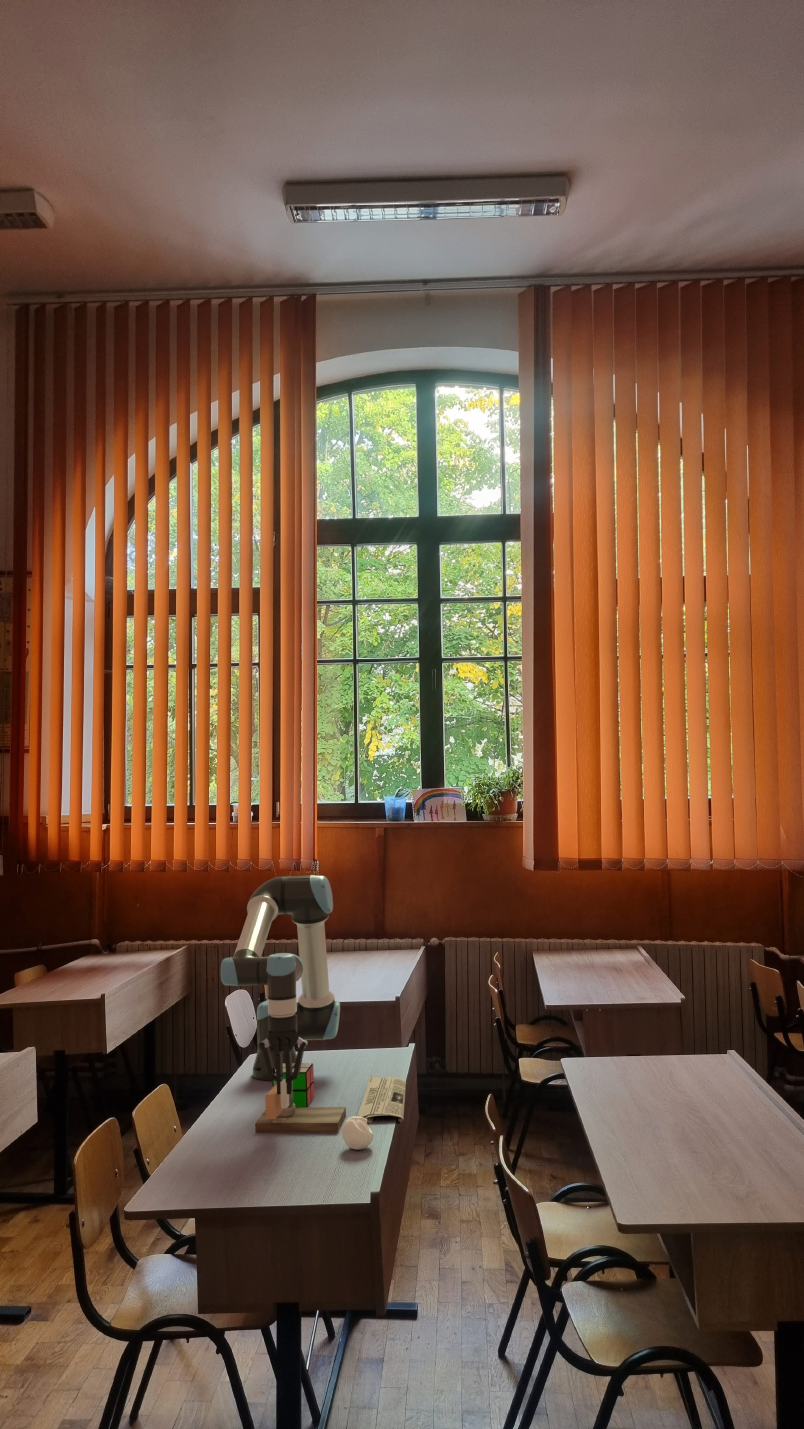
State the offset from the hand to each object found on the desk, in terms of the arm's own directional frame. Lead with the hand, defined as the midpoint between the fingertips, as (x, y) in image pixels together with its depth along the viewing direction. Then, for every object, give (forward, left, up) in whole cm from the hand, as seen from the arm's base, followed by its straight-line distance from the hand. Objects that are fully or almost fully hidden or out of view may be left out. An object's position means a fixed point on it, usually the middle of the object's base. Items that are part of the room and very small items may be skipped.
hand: (285, 1106), depth 252 cm
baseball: (+11, +21, -7) cm, 24 cm away
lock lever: (-4, -3, -2) cm, 6 cm away
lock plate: (-8, +3, -7) cm, 11 cm away
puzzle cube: (-26, -3, -7) cm, 27 cm away
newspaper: (-26, +22, -8) cm, 35 cm away
